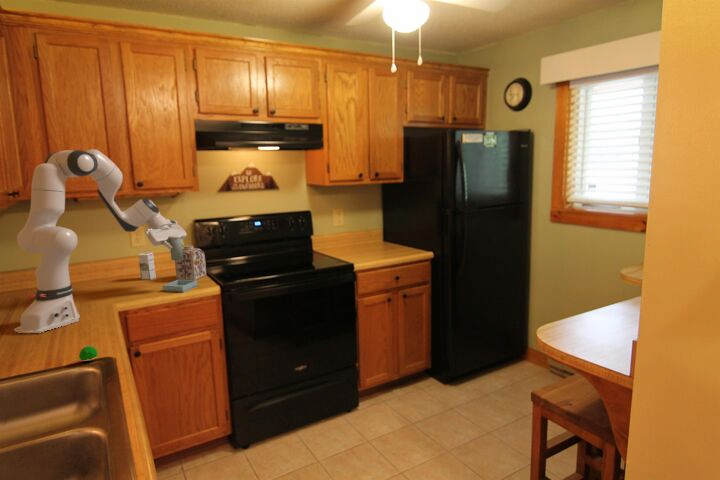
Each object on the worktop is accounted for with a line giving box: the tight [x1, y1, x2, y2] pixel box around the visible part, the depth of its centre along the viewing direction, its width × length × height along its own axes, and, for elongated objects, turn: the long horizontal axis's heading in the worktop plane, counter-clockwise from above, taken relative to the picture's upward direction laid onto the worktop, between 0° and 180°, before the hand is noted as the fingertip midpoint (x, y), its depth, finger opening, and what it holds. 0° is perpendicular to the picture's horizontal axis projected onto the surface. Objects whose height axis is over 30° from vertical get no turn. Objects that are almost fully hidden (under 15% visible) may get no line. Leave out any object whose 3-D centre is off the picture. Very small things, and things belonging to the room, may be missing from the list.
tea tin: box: [169, 235, 183, 261], centre depth 223 cm, size 6×6×12 cm
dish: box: [162, 279, 199, 293], centre depth 226 cm, size 12×12×3 cm
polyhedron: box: [78, 345, 99, 361], centre depth 143 cm, size 5×5×5 cm
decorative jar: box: [174, 244, 207, 281], centre depth 248 cm, size 12×12×18 cm
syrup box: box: [137, 252, 157, 281], centre depth 249 cm, size 6×6×14 cm
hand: (177, 247), depth 223 cm, fingers closed on tea tin, 5 cm apart
